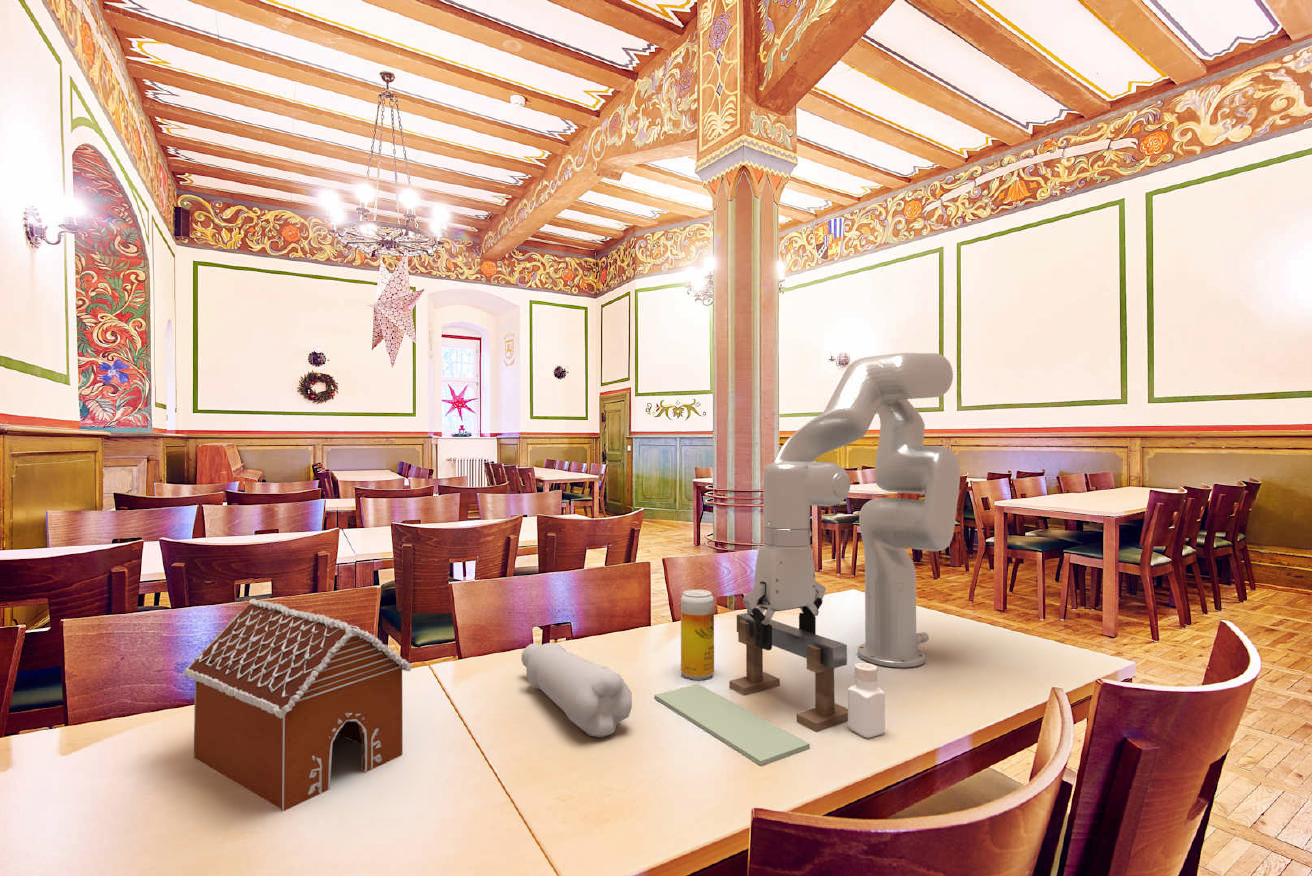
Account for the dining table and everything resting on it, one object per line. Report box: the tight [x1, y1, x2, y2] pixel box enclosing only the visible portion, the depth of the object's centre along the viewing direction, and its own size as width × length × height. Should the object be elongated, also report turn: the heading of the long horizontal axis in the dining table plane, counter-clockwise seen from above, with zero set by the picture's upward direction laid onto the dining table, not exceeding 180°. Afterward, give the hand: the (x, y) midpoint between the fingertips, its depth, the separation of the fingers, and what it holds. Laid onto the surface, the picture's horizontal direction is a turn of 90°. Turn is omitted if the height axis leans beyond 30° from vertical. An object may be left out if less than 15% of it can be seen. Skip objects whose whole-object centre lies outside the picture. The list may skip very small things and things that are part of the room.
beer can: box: [680, 589, 715, 681], centre depth 114 cm, size 6×6×15 cm
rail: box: [736, 612, 848, 670], centre depth 101 cm, size 22×3×3 cm, turn 32°
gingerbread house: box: [182, 597, 413, 812], centre depth 84 cm, size 18×26×20 cm
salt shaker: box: [847, 662, 886, 739], centre depth 91 cm, size 4×4×10 cm
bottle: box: [521, 642, 633, 739], centre depth 101 cm, size 9×9×30 cm
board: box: [654, 683, 811, 766], centre depth 94 cm, size 9×26×1 cm, turn 32°
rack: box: [728, 621, 848, 732], centre depth 101 cm, size 8×20×12 cm, turn 32°
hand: (785, 643), depth 101 cm, fingers open, 9 cm apart
